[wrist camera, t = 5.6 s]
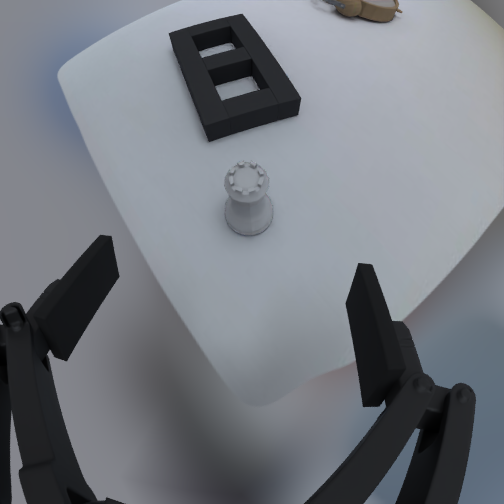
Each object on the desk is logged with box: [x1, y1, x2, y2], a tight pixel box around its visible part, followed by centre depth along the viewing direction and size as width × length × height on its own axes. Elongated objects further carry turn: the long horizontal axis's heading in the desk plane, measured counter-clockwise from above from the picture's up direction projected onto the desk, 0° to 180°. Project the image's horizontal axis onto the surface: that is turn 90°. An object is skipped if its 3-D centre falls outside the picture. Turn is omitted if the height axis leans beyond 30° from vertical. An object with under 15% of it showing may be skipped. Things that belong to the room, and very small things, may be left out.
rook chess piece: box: [224, 161, 273, 235], centre depth 25 cm, size 4×4×8 cm
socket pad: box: [169, 14, 301, 142], centre depth 32 cm, size 10×18×3 cm, turn 21°
